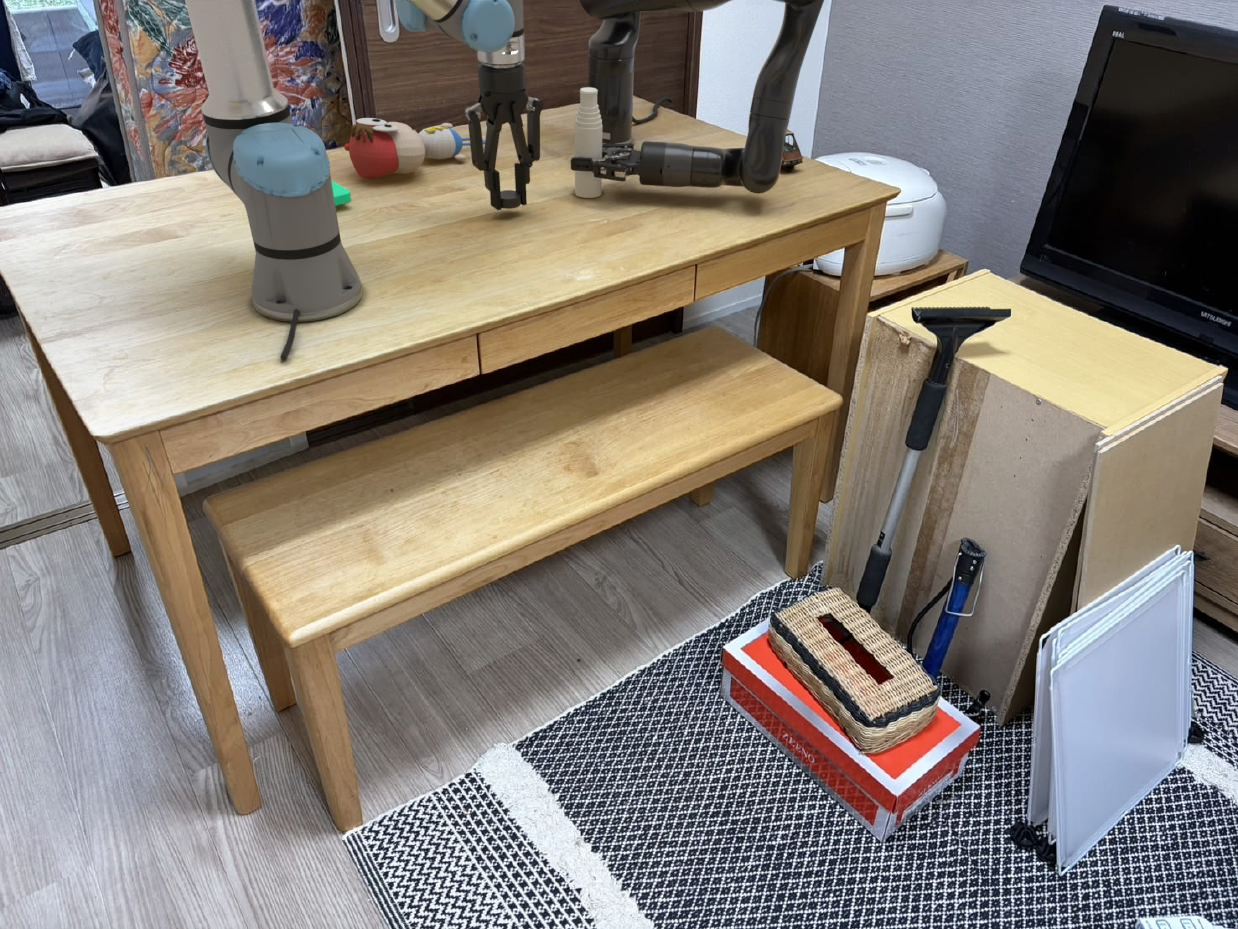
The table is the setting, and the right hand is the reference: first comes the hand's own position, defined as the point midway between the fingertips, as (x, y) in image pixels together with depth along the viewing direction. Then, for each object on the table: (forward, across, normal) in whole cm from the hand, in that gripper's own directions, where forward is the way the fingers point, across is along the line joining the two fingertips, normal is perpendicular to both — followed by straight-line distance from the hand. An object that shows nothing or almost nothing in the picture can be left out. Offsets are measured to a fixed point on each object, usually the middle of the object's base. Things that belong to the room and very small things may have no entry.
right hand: (574, 158), depth 168 cm
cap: (+9, +13, +3) cm, 16 cm away
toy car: (-37, -23, +6) cm, 44 cm away
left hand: (+9, +13, +4) cm, 17 cm away
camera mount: (+44, +14, +6) cm, 46 cm away
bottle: (-3, 0, +6) cm, 7 cm away
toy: (+31, -9, +6) cm, 33 cm away
